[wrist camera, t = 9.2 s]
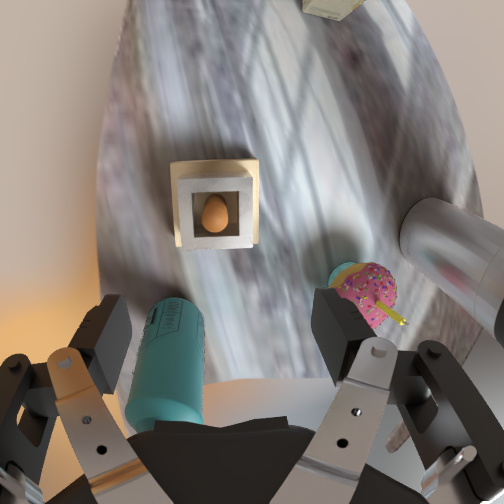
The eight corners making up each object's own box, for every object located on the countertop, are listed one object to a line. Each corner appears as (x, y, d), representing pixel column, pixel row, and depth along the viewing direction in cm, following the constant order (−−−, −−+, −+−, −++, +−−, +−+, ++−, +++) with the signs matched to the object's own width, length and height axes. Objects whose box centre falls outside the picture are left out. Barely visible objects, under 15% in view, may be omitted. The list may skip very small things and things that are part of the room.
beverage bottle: (157, 280, 32) (112, 438, 13) (214, 298, 33) (218, 460, 15) (146, 325, 34) (110, 472, 15) (197, 340, 35) (194, 490, 17)
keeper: (256, 158, 28) (267, 166, 21) (255, 236, 31) (266, 265, 25) (173, 161, 27) (159, 170, 21) (178, 239, 30) (168, 269, 24)
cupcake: (341, 234, 32) (396, 287, 21) (389, 266, 34) (445, 319, 23) (299, 295, 34) (332, 366, 23) (349, 319, 37) (389, 383, 26)
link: (248, 171, 26) (253, 177, 23) (248, 233, 29) (252, 247, 25) (181, 173, 26) (176, 179, 22) (185, 236, 28) (182, 250, 25)
